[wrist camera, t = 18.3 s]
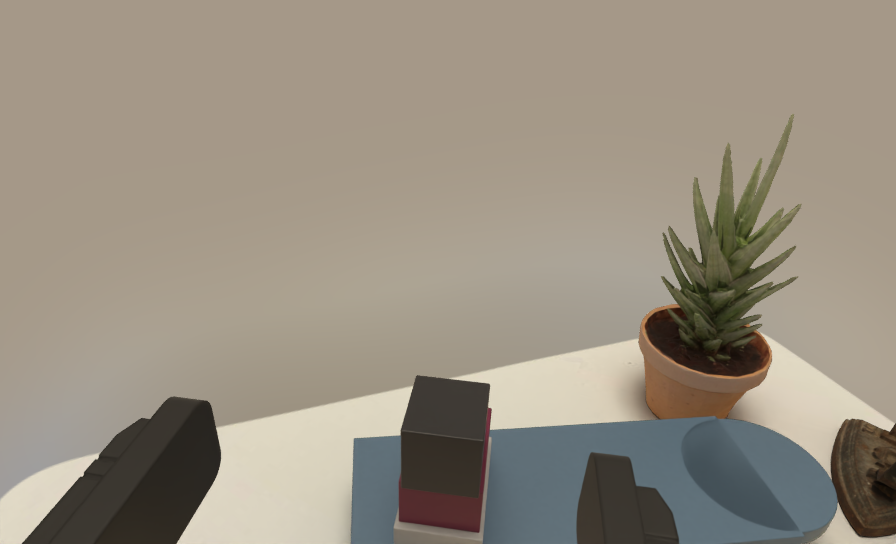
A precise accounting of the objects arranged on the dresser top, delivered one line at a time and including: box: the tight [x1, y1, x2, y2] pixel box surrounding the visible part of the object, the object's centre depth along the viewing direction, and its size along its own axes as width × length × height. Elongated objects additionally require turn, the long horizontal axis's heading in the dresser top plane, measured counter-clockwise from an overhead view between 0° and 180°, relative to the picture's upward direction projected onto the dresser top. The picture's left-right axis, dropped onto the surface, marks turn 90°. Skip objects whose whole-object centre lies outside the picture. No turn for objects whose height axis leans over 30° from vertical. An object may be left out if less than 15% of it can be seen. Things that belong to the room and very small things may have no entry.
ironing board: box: [351, 416, 838, 544], centre depth 36 cm, size 30×10×5 cm, turn 97°
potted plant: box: [638, 114, 801, 419], centre depth 42 cm, size 10×10×25 cm
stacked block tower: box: [393, 375, 492, 544], centre depth 32 cm, size 9×5×9 cm, turn 172°
